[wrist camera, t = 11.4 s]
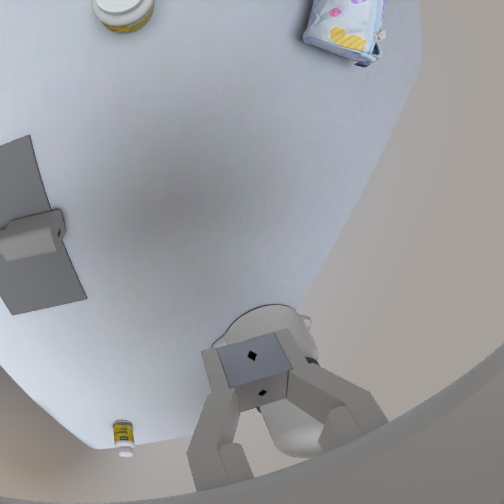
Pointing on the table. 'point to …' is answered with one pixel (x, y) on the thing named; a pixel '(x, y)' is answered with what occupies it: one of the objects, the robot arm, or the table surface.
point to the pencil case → (347, 28)
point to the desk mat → (40, 266)
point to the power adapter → (32, 236)
